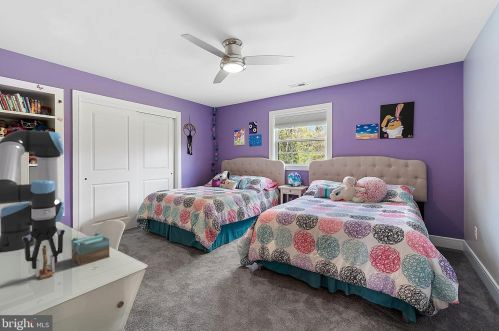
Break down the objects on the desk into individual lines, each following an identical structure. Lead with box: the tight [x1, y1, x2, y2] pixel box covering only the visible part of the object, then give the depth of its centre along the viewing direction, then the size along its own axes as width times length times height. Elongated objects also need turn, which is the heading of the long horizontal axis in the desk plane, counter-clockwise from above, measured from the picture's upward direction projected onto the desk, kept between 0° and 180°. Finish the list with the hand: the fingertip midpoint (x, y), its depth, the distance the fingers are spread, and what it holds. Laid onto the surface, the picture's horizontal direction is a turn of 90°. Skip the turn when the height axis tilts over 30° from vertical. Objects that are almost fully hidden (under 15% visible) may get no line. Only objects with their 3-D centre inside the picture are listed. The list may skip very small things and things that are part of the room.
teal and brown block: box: [71, 232, 110, 266], centre depth 115 cm, size 12×12×10 cm
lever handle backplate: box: [38, 244, 54, 280], centre depth 98 cm, size 9×4×12 cm, turn 47°
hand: (45, 273), depth 98 cm, fingers closed on lever handle backplate, 4 cm apart
